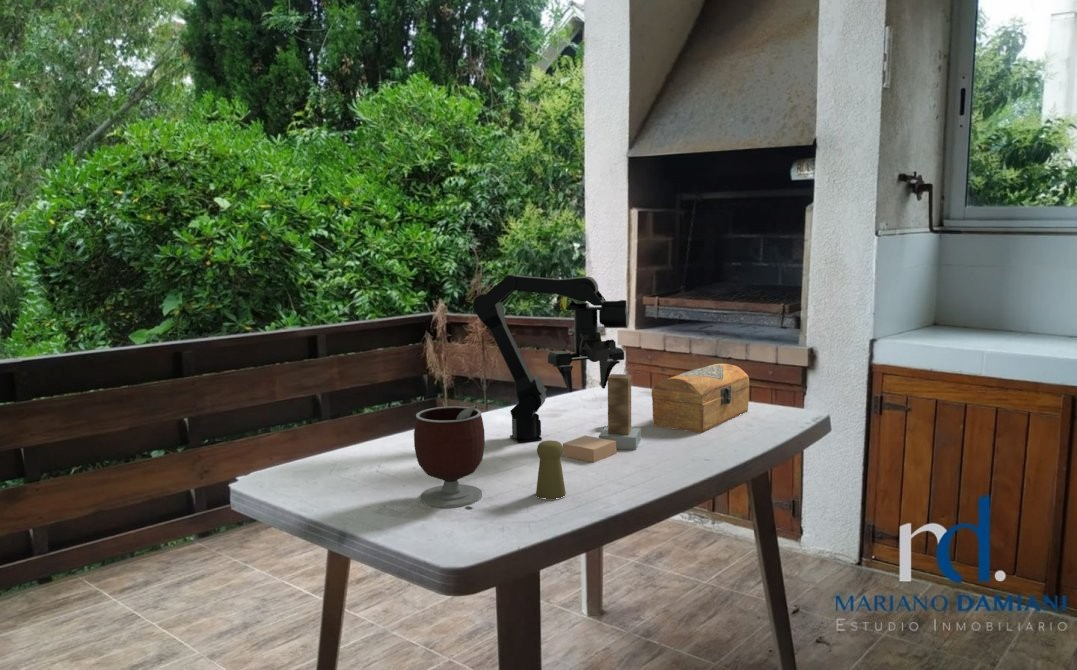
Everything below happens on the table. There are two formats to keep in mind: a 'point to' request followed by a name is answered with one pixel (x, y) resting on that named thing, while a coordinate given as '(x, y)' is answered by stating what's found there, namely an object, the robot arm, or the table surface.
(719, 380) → the wooden box
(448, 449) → the mate gourd
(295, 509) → the table surface
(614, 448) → the terracotta slab
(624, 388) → the walnut pillar
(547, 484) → the olive green game pawn
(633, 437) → the stone slab
